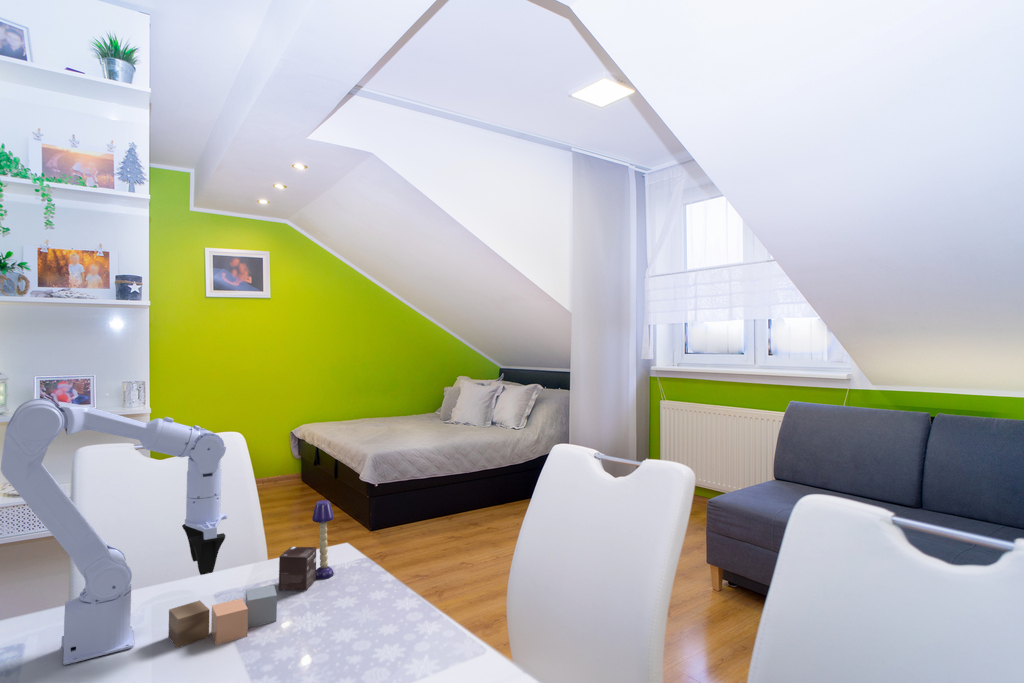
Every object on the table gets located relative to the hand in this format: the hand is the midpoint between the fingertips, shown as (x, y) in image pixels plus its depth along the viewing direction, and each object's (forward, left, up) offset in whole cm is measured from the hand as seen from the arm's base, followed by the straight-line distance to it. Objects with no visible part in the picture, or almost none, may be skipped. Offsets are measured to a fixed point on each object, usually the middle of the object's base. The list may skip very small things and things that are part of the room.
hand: (202, 566), depth 106 cm
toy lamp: (+25, +7, -10) cm, 28 cm away
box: (+19, +5, -10) cm, 22 cm away
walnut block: (-3, -6, -10) cm, 12 cm away
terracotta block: (+3, -9, -10) cm, 14 cm away
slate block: (+9, -6, -10) cm, 15 cm away
